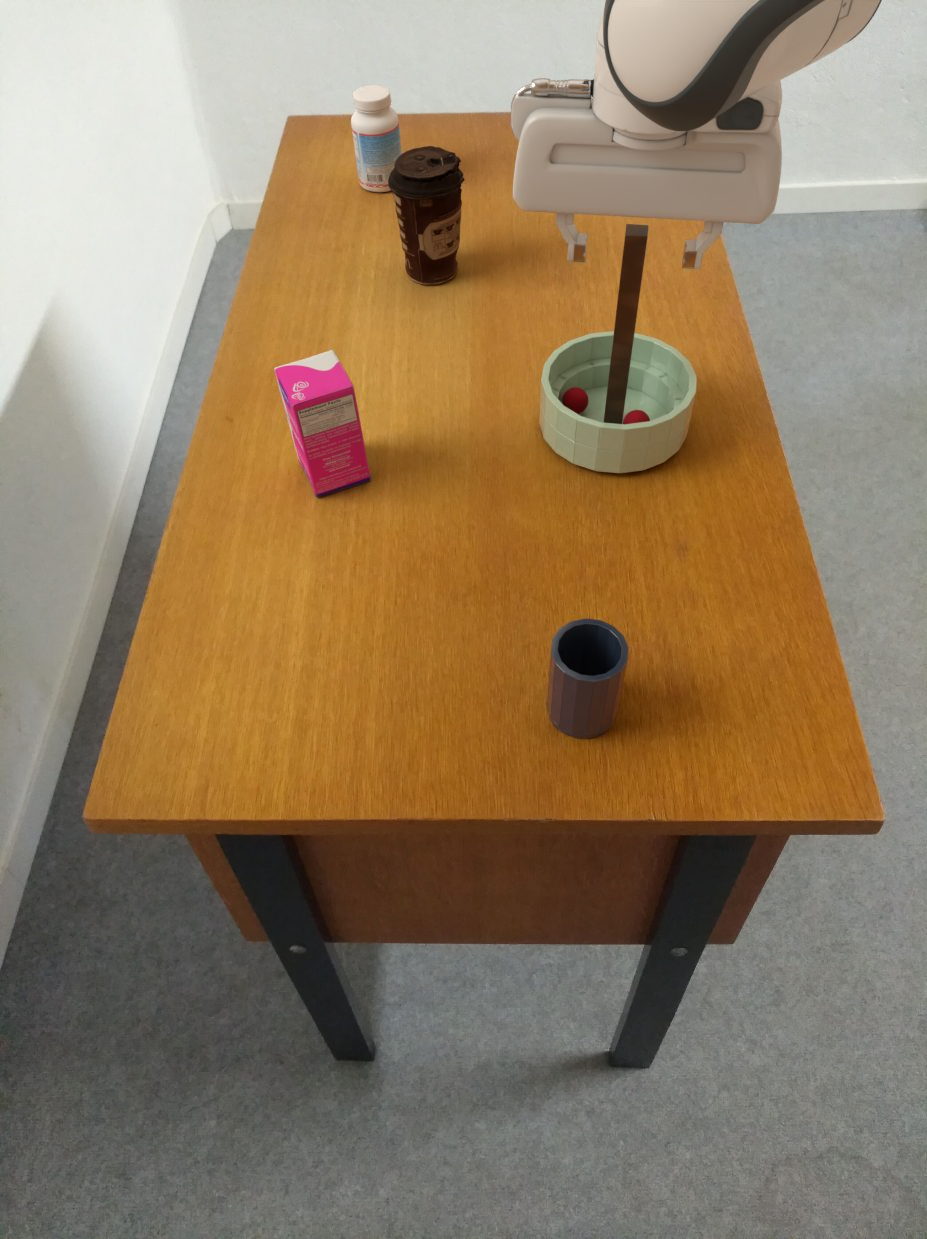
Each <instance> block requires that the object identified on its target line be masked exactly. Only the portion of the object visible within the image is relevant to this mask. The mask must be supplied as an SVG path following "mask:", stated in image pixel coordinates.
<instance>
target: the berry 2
mask: <svg viewBox="0 0 927 1239" xmlns="http://www.w3.org/2000/svg"><path fill="white" fill-rule="evenodd" d="M648 421H650V418H649V416H648V415H647V414H646V413H645V412H644V411H641V410H633V411H631V412H629V413H628V414H627V415H626V416H625V418H624V420H623V424H632V423H640V422H648Z"/></svg>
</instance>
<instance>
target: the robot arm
mask: <svg viewBox="0 0 927 1239" xmlns="http://www.w3.org/2000/svg"><path fill="white" fill-rule="evenodd" d="M604 1H605V2H604V6H603V10H602V14H601V17H600V19H599V22H598V26H597V32H596V46H595V58H594V59H595V60H594V73H593V78H592V79H577V78H575V79H573V78H571V79H561V80H559V79H558V80H556V79H550V78H546V77H541V78H540V77H539V78H534V79H532V80H531V83H529V84H526V85H523V86H521V87H520V88H519V89H518V90H517V91H516V92H515V94H514V95H513V97H512V100H511V102H510V128H511V132H512V134H513V136H514V137H515V138H516V140H517V141H518V146H517V150H516V155H515V162H514V171H513V180H512V181H513V182H512V199H513V201H514V202H515V204H516V205H517V207H518V208H519V209H520V211H523V212H533V213H534V212H535V213H549V214H551V213H552V214H556V217H555V225H556V227H557V229H558V230H559V232H560V234H561V236H562V238H563V239H564V241H565V243H566V244H568V245H567V258H566V259H567V262H569V263H586V257H587V250H588V240H589V238H588V235H589V233H588V232H587V233H586V232H579V231H578V229H577V226H576V224H575V222H574V220H575V215H586V216H587V215H589V216H604V217H605V216H607V217H623V218H624V217H626V218H643V219H659V220H660V219H661V220H663V219H664V220H679V221H696V222H697V221H698V222H703V229H702V231H701V232H700V233H699V235H697V237H696V238H695V239H694V238H693V239H691V238H690V239H689V238H688V239H687V238H686V239H685V241H684V249H683V253H682V260H681V263H682V264H681V269H684V270H685V269H686V270H701V267H702V262H703V257H704V253H705V252H707V250H708V249H709V248H710V247H711V246H712V245H713V243H715V241H716V240H717V239H718V238H719V237H720V236H721V235H722V233H723V229H724V228H723V227H724V224H725V223H734V224H735V223H736V224H749V225H750V224H751V225H760V224H762V223H764V222H765V221H766V220H767V219H768V218H770V216H772V214H774V213H775V210H776V205H777V202H778V197H779V191H780V184H781V175H782V164H783V163H782V162H783V149H782V148H783V147H782V146H783V145H782V134H781V126H780V119H779V117H780V113H781V110H782V103H783V88H782V86H783V85H782V82H781V80H784V79H786V78H787V77H790V76H791V75H793V74H795V73H796V72H799V71H800V70H802V69H804V68H807V67H808V66H810V65H812V64H814V63H816V62H818V61H820V60H822V59H823V58H825V57H827V56H829V55H831V54H832V53H834V52H836V51H838V50H839V49H840V48H841V47H843V46H844V45H846V44H848V43H850V42H851V41H852V40H854V39H855V38H857V37H858V35H860V34H861V33H862V32H863V31H864V29H865V28H866V27H867V26H868V25H869V24H870V22H871V20H873V18H874V16H875V15H876V13H877V11H878V9H879V7H880V5H881V3H882V1H883V0H604ZM529 92H530V93H529Z"/></svg>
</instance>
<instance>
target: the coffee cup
mask: <svg viewBox="0 0 927 1239" xmlns="http://www.w3.org/2000/svg"><path fill="white" fill-rule="evenodd" d="M461 162H462V160H461V158H460V157H459V156H457V154H456V153H455V152H453V151H449V150H447V149H444V148H442V147H440V146H433V145H425V146H420V147H414V148H411V149H409V150H406V151H405V152H402V154H401V155H400V156H399V157H398V158H397V159H396V161H395V165H394V169H393V170H392V172H391V173H390V176H389V179H388V186H389V188H390V189H391V191H390V192H392V196H393V200H394V204H395V213H396V217H397V222H398V223H397V224H398V228H399V237H400V241H401V249H402V250H403V252H404V261H405V263H404V265H405V266H404V269H405V272H406V275H407V276H408V278H409V279H410V280H411V281H413V282H415V283H417V284H420V285H439V284H442V283H445V282H447V281H449V280H451V279H453V278H454V277H455V276H456V274H457V273H458V271H459V262H458V259H457V254H458V251H459V248H460V243H461V223H462V206H463V200H462V192H463V190H462V184H463V183H464V181H466V179H465V177H464V173H463V171H462V170H461V169H460V163H461Z"/></svg>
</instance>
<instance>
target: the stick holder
mask: <svg viewBox="0 0 927 1239" xmlns="http://www.w3.org/2000/svg"><path fill="white" fill-rule="evenodd" d="M629 649H630V648H629V645H628V643H627V640H626V637H625V636H624V634H623V633H621V631H619V629H617V627H615V626H614V625H613V624H611V623H608V622H606V621H603V620H601V619H595V618H588V617H587V618H581V619H580V618H579V619H575V620H571V621H569V622H568V623H566V624H564V625H563V626H561V627H560V628H558V630H557V631H556V633H555V634H554V636H553V637H552V639H551V647H550V657H549V658H550V659H549V670H548V682H547V696H546V711H547V716H548V718H549V720H550V722H551V724H552V725H553V726H554V727H555V728H556V730H558V731H559V732H560V733H563V734H564V735H565V736H568V737H571V738H575V739H584V740H585V739H586V740H587V739H593V738H596V737H599V736H602V735H604V733H606V732H607V731H608V730H609V729H610V728H611V727H612V726H613V725H614V723H615V721H616V720H617V716H618V713H619V712H618V711H619V707H620V702H621V698H622V697H621V696H622V692H623V686H624V681H625V676H626V671H627V667H628V661H629Z"/></svg>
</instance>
